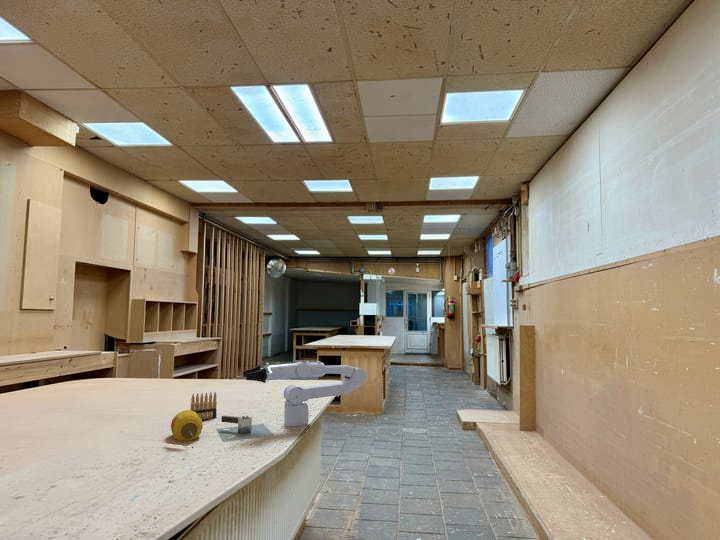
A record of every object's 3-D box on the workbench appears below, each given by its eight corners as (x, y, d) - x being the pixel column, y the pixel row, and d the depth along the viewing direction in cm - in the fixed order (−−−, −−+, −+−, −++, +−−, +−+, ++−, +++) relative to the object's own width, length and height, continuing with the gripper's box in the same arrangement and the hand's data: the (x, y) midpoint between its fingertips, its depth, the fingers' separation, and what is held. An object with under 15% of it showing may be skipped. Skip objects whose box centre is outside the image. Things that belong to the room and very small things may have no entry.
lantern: (172, 402, 157) (182, 419, 132) (198, 405, 162) (212, 422, 136) (164, 429, 155) (172, 451, 129) (190, 431, 160) (203, 453, 134)
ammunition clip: (189, 423, 168) (191, 394, 169) (189, 422, 169) (190, 393, 171) (216, 420, 173) (217, 391, 174) (215, 419, 174) (217, 391, 176)
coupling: (254, 430, 153) (254, 415, 154) (246, 433, 148) (247, 418, 149) (226, 427, 157) (226, 412, 158) (218, 430, 152) (218, 415, 153)
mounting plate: (263, 426, 163) (263, 423, 163) (274, 438, 147) (274, 434, 147) (216, 432, 155) (216, 428, 156) (222, 445, 139) (222, 441, 139)
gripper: (274, 359, 170) (241, 362, 165) (283, 364, 157) (247, 367, 152) (275, 376, 170) (241, 380, 164) (283, 382, 157) (248, 386, 151)
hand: (244, 375), depth 158 cm, fingers open, 7 cm apart
